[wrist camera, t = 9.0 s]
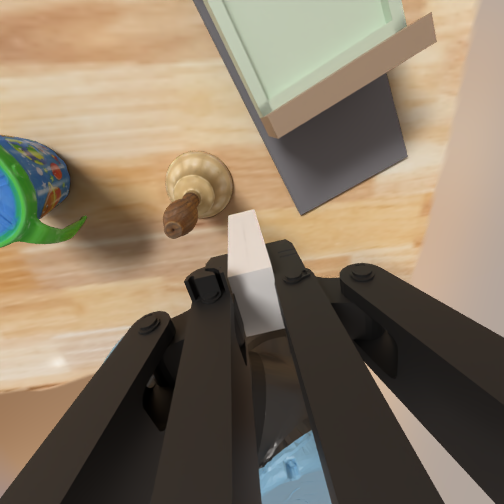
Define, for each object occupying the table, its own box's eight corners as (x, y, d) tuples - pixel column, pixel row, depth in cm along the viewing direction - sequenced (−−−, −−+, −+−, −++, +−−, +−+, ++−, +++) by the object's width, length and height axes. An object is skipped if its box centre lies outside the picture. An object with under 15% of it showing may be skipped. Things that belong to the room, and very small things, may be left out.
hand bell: (154, 197, 33) (96, 252, 18) (183, 136, 30) (141, 145, 15) (213, 228, 35) (201, 299, 21) (244, 174, 32) (256, 213, 18)
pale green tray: (380, 64, 28) (436, 41, 20) (266, 135, 30) (278, 138, 22) (324, -146, 21) (378, -299, 13) (182, -35, 23) (159, -112, 16)
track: (405, 155, 33) (423, 158, 30) (300, 214, 35) (306, 222, 32) (311, -207, 20) (325, -267, 17) (154, -77, 22) (142, -109, 19)
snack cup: (-57, 151, 28) (-191, 162, 19) (-7, 77, 26) (-135, 52, 17) (72, 245, 34) (15, 288, 25) (122, 192, 32) (80, 219, 23)
